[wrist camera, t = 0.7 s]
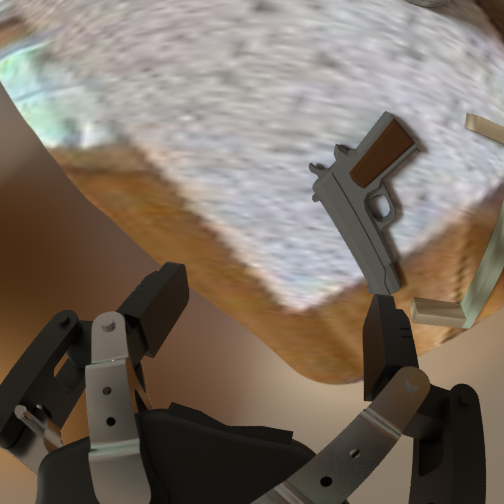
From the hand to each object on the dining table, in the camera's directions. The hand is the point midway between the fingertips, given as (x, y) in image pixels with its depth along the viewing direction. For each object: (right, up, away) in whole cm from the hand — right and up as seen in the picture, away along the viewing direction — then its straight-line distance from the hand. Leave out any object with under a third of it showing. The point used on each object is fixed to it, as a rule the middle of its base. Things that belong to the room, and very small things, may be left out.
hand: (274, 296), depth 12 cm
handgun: (+13, +6, +16) cm, 22 cm away
